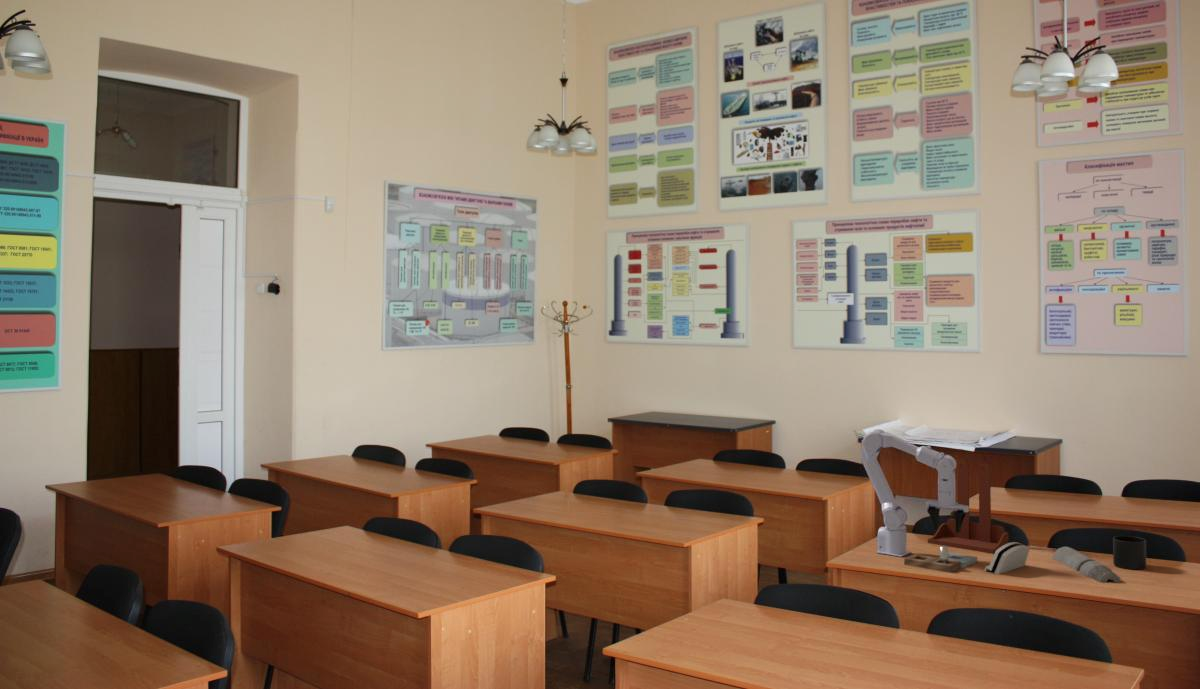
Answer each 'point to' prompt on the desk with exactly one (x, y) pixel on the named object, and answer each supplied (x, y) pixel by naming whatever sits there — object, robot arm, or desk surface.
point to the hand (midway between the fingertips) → (947, 530)
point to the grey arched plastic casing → (1008, 558)
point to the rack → (932, 563)
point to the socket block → (962, 559)
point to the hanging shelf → (972, 533)
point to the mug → (1129, 552)
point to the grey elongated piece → (1085, 565)
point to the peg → (944, 554)
